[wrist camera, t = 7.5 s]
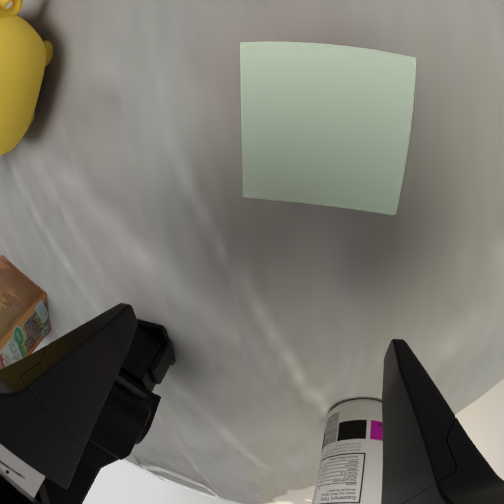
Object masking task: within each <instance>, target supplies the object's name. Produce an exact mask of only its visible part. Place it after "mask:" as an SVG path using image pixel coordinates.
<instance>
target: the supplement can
mask: <svg viewBox="0 0 504 504" xmlns="http://www.w3.org/2000/svg"><path fill="white" fill-rule="evenodd" d="M382 471H383V426H382V402H379V401H376V400H371V399H356V400H350V401H346V402H343V403H341V404H339V405H338V406H336V407H335V408H334V409H332V410H331V411H330V412H329V413H328V415H327V419H326V426H325V433H324V440H323V446H322V452H321V458H320V464H319V470H318V475H317V481H316V486H315V491H314V496H313V501H312V504H381V496H382Z"/></svg>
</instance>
